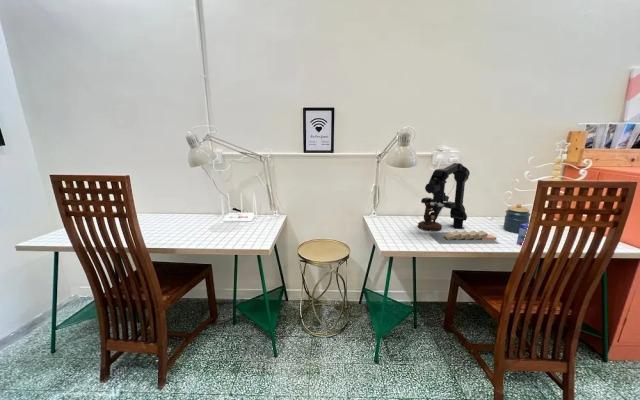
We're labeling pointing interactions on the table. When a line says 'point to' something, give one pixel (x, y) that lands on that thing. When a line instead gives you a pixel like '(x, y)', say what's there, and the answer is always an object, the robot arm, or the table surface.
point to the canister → (515, 218)
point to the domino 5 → (489, 237)
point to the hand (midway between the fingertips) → (436, 216)
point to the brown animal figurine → (429, 219)
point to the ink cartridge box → (522, 233)
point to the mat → (442, 240)
